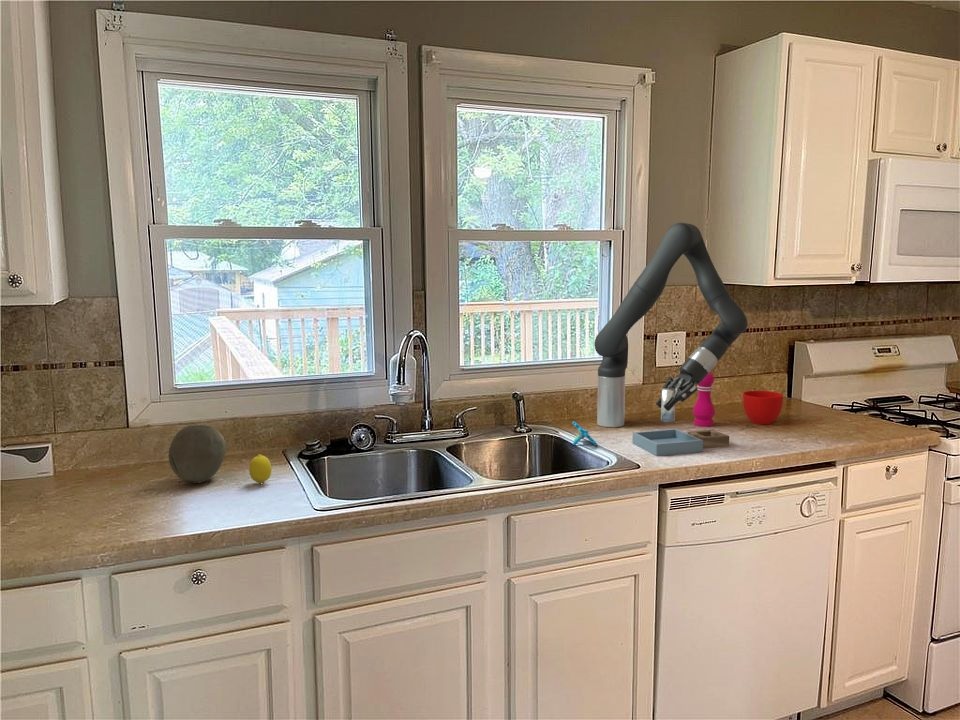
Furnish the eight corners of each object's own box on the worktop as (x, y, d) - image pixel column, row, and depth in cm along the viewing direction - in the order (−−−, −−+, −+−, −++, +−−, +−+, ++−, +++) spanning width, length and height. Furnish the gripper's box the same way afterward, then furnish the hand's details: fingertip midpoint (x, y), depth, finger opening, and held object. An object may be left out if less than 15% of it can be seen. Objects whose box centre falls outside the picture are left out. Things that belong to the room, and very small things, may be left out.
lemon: (252, 481, 188) (251, 452, 187) (274, 480, 188) (272, 451, 187) (247, 487, 182) (246, 457, 181) (269, 487, 183) (268, 457, 182)
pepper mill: (691, 426, 241) (693, 368, 239) (693, 421, 248) (695, 365, 245) (713, 427, 239) (715, 369, 236) (715, 423, 245) (717, 366, 243)
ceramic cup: (784, 418, 251) (786, 390, 250) (779, 428, 237) (781, 399, 235) (746, 414, 258) (747, 387, 256) (739, 424, 243) (740, 395, 241)
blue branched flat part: (600, 444, 213) (576, 420, 214) (586, 458, 214) (562, 434, 214) (597, 440, 224) (574, 417, 225) (583, 453, 225) (561, 430, 225)
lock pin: (658, 419, 215) (659, 388, 214) (670, 418, 216) (670, 388, 215) (665, 422, 211) (665, 391, 210) (677, 421, 212) (677, 390, 211)
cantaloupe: (223, 486, 183) (220, 430, 181) (165, 491, 181) (161, 434, 178) (231, 471, 197) (227, 418, 195) (177, 475, 194) (172, 421, 192)
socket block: (686, 440, 222) (687, 431, 222) (712, 438, 225) (712, 429, 224) (703, 448, 214) (703, 438, 213) (729, 445, 216) (729, 436, 216)
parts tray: (632, 443, 220) (632, 432, 220) (675, 439, 224) (676, 428, 224) (656, 456, 206) (656, 444, 205) (702, 451, 210) (702, 440, 209)
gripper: (678, 354, 220) (642, 395, 218) (704, 360, 206) (666, 403, 205) (693, 370, 222) (657, 410, 220) (719, 376, 208) (682, 420, 207)
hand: (662, 407), depth 213 cm, fingers closed on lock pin, 4 cm apart
